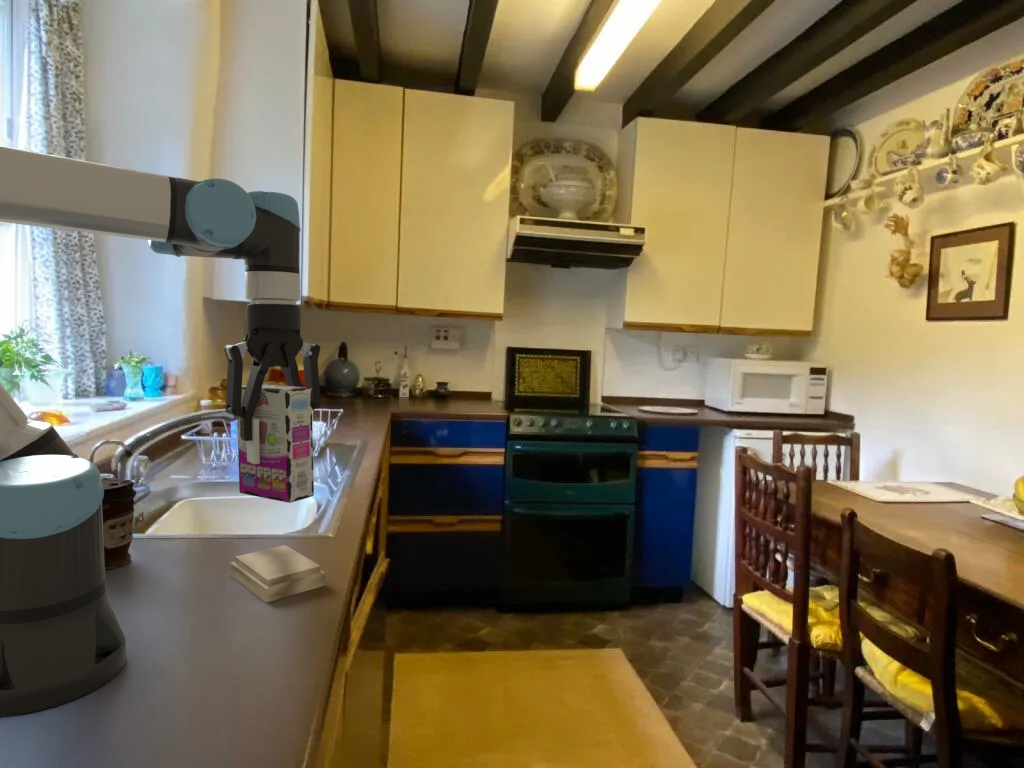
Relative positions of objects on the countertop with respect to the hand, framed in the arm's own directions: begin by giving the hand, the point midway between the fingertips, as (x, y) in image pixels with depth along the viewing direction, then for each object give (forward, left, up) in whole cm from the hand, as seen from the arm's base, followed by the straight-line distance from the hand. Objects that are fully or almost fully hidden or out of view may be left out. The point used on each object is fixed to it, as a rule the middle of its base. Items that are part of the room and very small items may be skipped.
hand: (276, 459), depth 96 cm
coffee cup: (-17, +24, -19) cm, 35 cm away
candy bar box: (0, 0, -6) cm, 6 cm away
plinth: (0, 0, -19) cm, 19 cm away
